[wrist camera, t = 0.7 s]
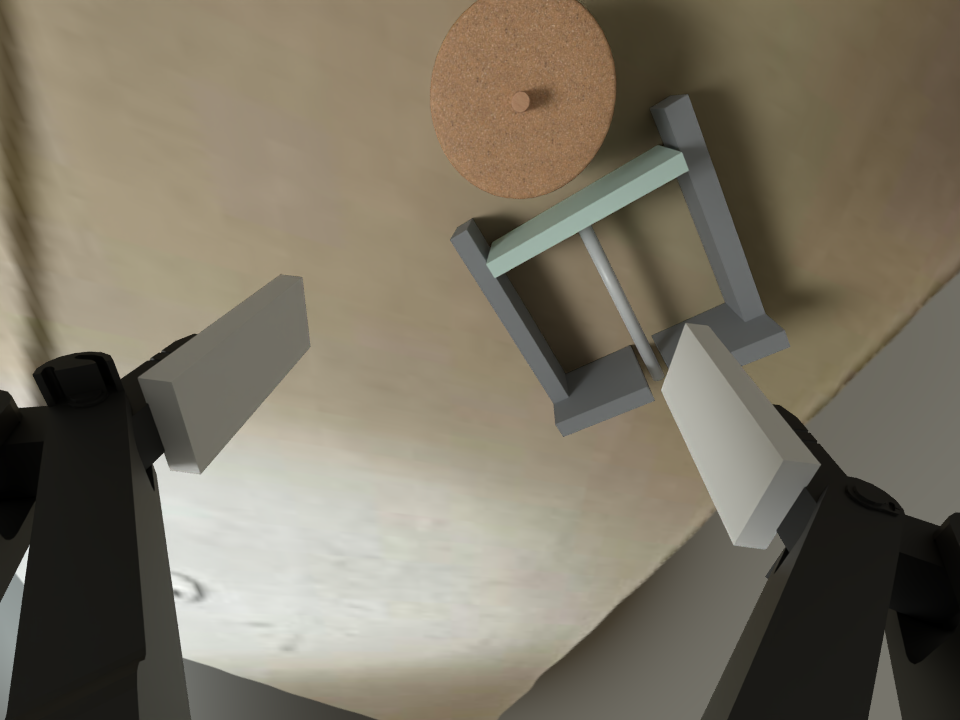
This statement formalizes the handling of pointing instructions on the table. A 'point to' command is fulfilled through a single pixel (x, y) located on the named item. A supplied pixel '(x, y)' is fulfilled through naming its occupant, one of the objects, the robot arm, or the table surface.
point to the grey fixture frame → (619, 374)
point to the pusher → (580, 216)
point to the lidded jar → (523, 94)
